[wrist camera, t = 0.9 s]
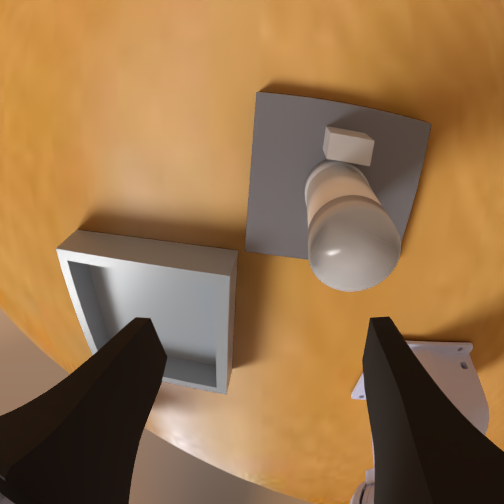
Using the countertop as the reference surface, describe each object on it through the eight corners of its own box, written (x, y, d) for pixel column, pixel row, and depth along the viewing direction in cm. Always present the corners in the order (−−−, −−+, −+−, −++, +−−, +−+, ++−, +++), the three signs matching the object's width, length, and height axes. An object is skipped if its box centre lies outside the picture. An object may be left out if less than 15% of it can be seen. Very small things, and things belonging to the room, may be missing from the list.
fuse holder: (425, 121, 14) (447, 131, 11) (388, 263, 18) (399, 290, 16) (258, 91, 14) (251, 93, 12) (246, 244, 19) (239, 270, 17)
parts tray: (238, 250, 19) (230, 276, 17) (232, 369, 26) (226, 394, 23) (76, 229, 20) (56, 248, 18) (108, 342, 27) (96, 363, 24)
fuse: (372, 164, 15) (412, 217, 9) (359, 221, 17) (385, 295, 11) (308, 153, 15) (316, 201, 10) (300, 213, 17) (301, 285, 11)
